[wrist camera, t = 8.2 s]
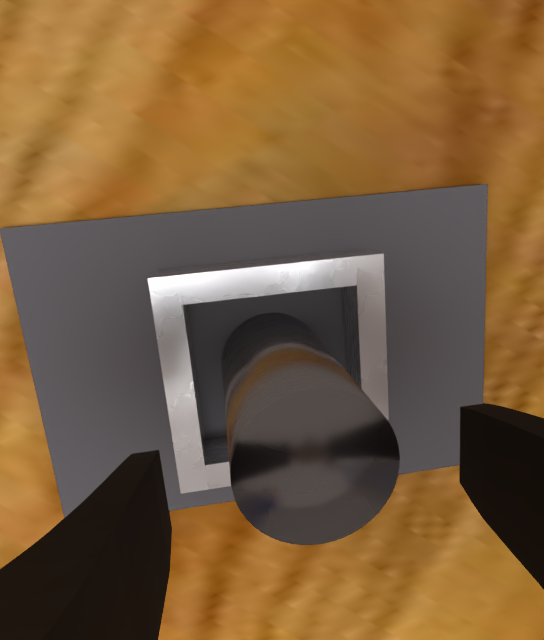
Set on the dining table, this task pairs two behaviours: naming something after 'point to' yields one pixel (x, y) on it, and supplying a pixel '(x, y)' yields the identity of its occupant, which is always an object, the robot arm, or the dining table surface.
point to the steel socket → (250, 281)
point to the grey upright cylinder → (302, 435)
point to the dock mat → (226, 315)
